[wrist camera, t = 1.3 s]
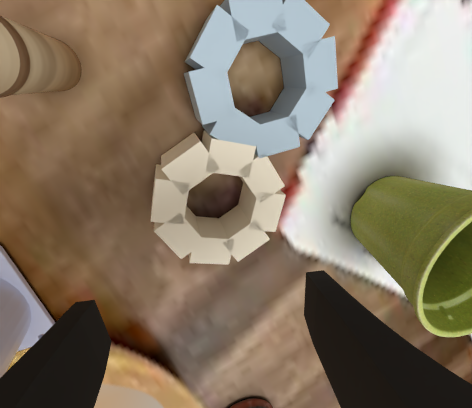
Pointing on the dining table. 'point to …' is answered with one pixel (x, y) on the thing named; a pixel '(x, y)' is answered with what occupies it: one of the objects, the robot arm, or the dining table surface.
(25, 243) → the dining table surface
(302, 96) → the blue bead
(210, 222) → the cream bead
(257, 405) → the supplement bottle
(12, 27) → the brown wooden peg
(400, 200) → the plant pot
